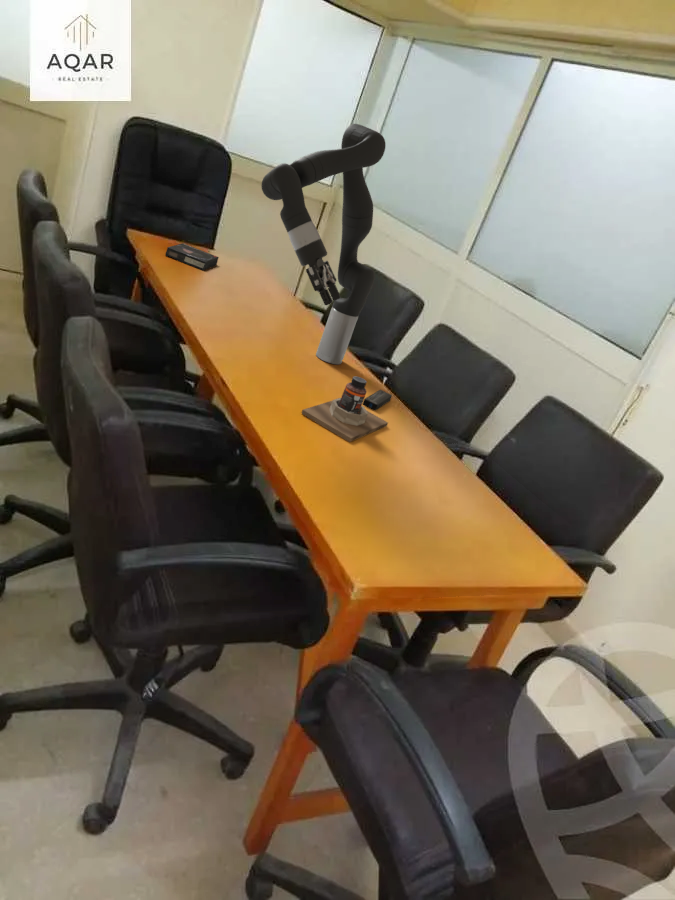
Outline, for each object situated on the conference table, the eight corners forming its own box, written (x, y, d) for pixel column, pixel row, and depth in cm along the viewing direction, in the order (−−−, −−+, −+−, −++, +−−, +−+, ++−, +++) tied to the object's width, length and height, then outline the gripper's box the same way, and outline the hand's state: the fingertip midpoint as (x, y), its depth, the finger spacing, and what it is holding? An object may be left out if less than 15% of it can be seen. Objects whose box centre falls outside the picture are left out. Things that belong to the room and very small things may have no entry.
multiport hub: (390, 401, 216) (392, 395, 216) (374, 412, 204) (377, 405, 203) (377, 395, 218) (380, 389, 217) (361, 405, 205) (364, 398, 204)
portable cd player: (164, 257, 277) (166, 247, 276) (180, 252, 293) (182, 243, 291) (202, 271, 277) (204, 262, 275) (216, 266, 293) (218, 257, 291)
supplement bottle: (353, 423, 186) (368, 386, 182) (333, 415, 187) (347, 378, 182) (357, 416, 192) (371, 380, 187) (338, 408, 192) (351, 372, 187)
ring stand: (341, 400, 202) (346, 388, 200) (386, 426, 196) (391, 413, 194) (301, 413, 183) (305, 399, 181) (349, 442, 177) (355, 428, 176)
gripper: (312, 239, 170) (339, 300, 174) (326, 235, 183) (351, 292, 187) (286, 252, 173) (313, 311, 176) (302, 247, 186) (327, 303, 189)
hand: (333, 301), depth 181 cm, fingers open, 8 cm apart
